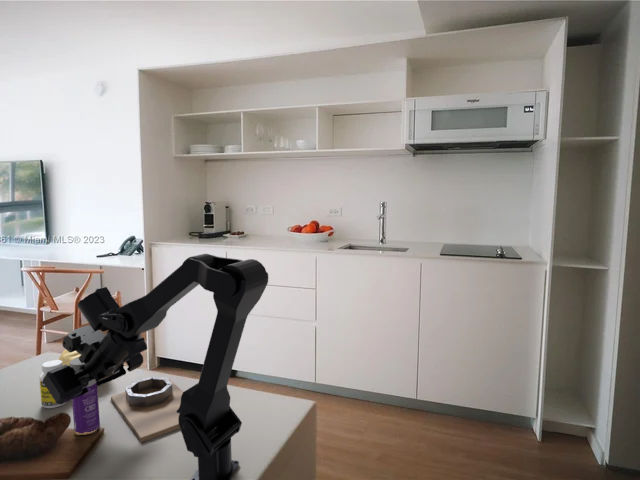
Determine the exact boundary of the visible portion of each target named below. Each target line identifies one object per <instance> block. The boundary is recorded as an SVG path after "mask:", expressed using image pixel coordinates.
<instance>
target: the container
mask: <svg viewBox="0 0 640 480" xmlns="http://www.w3.org/2000/svg"><path fill="white" fill-rule="evenodd" d="M83 365H85V363H81V362H80V360H79V359H78V358H76V359H73V360H72V361H70V367H73V369H74V370H75V372H77V373H78V372H81V370H80V367H81V366H83ZM88 377H89V376H88ZM86 378H87V377H86ZM86 388H87V390H88V391H89V392H87V393H85V394H83V395H81V396H79V397H77V398H74V399H72V400H71V406H72V416H73V428H74V430H73V431H74V432H75V431H76V432H79V433H84V432H91V431H94V430H96V429H98V428H99V429H101V422H100V420H101V419H100V407H99V396H98V395H99V393H98V391H99V390H98V386H97V381H96V380H95V379H94V380H92V381H90V382H89V384H88V386H87V387H86Z"/></svg>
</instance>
